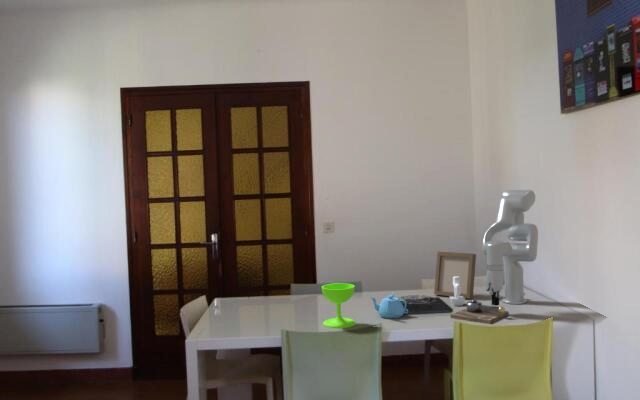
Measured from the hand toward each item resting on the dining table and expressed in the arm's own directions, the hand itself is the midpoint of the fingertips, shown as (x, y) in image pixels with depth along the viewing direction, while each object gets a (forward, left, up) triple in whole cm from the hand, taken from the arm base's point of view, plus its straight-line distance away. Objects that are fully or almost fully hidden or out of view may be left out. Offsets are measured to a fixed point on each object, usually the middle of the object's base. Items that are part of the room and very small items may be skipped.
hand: (495, 305), depth 277 cm
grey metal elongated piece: (+6, -2, -3) cm, 7 cm away
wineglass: (+58, -52, -5) cm, 78 cm away
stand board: (+9, -4, -4) cm, 11 cm away
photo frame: (-28, -36, -5) cm, 46 cm away
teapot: (+32, -41, -5) cm, 52 cm away
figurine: (-8, -25, -5) cm, 27 cm away
